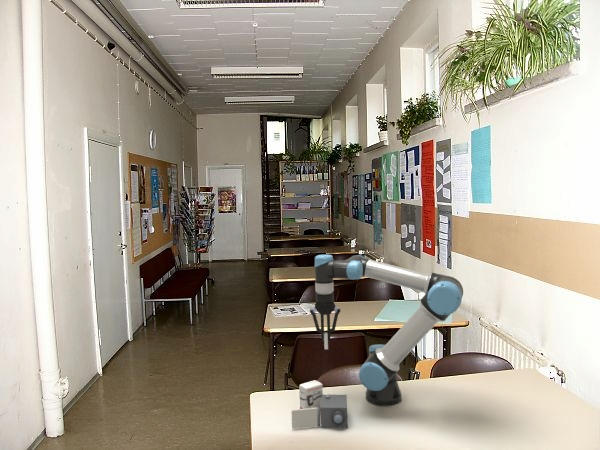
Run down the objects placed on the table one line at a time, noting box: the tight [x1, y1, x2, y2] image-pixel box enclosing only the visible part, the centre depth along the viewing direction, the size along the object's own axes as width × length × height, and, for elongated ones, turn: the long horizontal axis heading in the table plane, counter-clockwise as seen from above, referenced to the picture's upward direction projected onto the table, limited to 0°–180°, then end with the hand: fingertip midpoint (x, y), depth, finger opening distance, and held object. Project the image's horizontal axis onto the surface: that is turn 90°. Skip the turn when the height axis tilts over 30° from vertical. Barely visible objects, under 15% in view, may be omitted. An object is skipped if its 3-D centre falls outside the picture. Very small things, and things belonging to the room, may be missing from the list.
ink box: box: [298, 379, 324, 409], centre depth 206 cm, size 8×5×12 cm, turn 123°
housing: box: [320, 394, 349, 429], centre depth 196 cm, size 10×14×9 cm
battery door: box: [291, 407, 321, 430], centre depth 192 cm, size 1×11×7 cm, turn 99°
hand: (326, 348), depth 211 cm, fingers closed
